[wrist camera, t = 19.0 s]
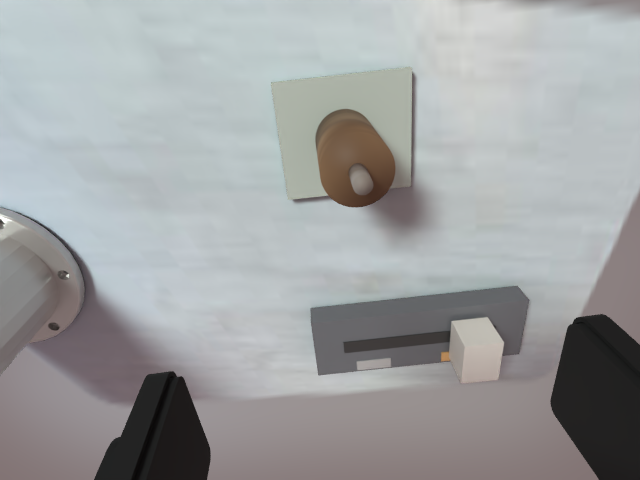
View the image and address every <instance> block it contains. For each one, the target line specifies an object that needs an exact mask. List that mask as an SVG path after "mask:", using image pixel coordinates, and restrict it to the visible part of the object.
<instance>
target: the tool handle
mask: <svg viewBox="0 0 640 480" xmlns="http://www.w3.org/2000/svg"><path fill="white" fill-rule="evenodd" d="M315 143H316V150H317V158H318V165H319V172H320V179H321V183H322V186H323V188H324V190H325V192H326V193H327V194H328V196H329V197H330V198H331V199H333V200H334V201H335V202H337V203H339V204H341V205H344V206H348V207H363V206H367V205H370V204H372V203H374V202H376V201H378V200H379V199H380V198H382V197H383V196H384V195H385V194H386V193H387V191H388V190H389V189H390V187H391V185H392V183H393V180H394V177H395V160H394V157H393V155H392V152H391V151H390V149H389V148H388V146H387V145H386V144H385V142H384V141H383V140H382V138H381V137H380V135H379V134H378V133H377V131H376V130H375V129H374V127H373V126H372V125H371V123H370V122H369V120H368V119H367V118H366V117H365V116H364V115H363V114H361V113H360V112H357V111H355V110H351V109H340V110H336V111H334V112H332V113H330V114H328V115H327V116H326V117H325V118H324V119H323V120H322V121H321V123H320V124H319V126H318V128H317V131H316V136H315Z"/></svg>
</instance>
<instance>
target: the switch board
mask: <svg viewBox="0 0 640 480" xmlns="http://www.w3.org/2000/svg"><path fill="white" fill-rule="evenodd" d="M528 303H529V299H528V298H527V297H526V296H525V294H524V293H523V292H522V291H521V290H520V289H519V287H518V286H512V287H503V288H494V289H484V290H475V291H466V292H457V293H447V294H438V295H429V296H420V297H410V298H401V299H392V300H382V301H373V302H364V303H355V304H345V305H336V306H327V307H318V308H311V326H312V333H313V340H314V347H315V354H316V361H317V368H318V375H326V374H336V373H345V372H354V371H364V370H373V369H383V368H392V367H401V366H411V365H420V364H429V363H439V362H448V361H451V360H450V358H449V347H450V334H451V321H456V320H466V319H475V318H484V317H488V318H489V320H490V321H491V323H492V325H493V326H494V328H495V329H496V331H497V332H498V334H499V335H500V337H501V338H502V340H503V342H504V347H503V353H502V356H504V355H514V354H519V351H520V346H521V340H522V335H523V330H524V324H525V319H526V314H527V308H528Z"/></svg>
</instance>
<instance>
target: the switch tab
mask: <svg viewBox="0 0 640 480" xmlns="http://www.w3.org/2000/svg"><path fill="white" fill-rule="evenodd" d="M503 347H504V342H503V340H502V338H501V337H500V335H499V334H498V332H497V331H496V329H495V328H494V326H493V325H492V323H491V321H490V320H489V318H488V317H484V318H475V319H466V320H456V321H451V334H450V347H449V358H450V360H451V363H452V365H453V367H454V369H455V372H456V374H457V376H458V378H459V380H460V383H461V384H464V383H474V382H483V381H493V380H498V378H499V372H500V365H501V359H502V353H503Z"/></svg>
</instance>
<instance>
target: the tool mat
mask: <svg viewBox="0 0 640 480" xmlns="http://www.w3.org/2000/svg"><path fill="white" fill-rule="evenodd" d="M271 88H272V94H273V101H274V108H275V115H276V121H277V128H278V135H279V142H280V148H281V155H282V162H283V169H284V175H285V182H286V189H287V196H288V200H292V199H301V198H311V197H320V196H328V194H327V193H326V192H325V190H324V188H323V186H322V183H321V179H320V172H319V165H318V158H317V150H316V143H315V136H316V131H317V128H318V126H319V124H320V123H321V121H322V120H323V119H324V118H325V117H326V116H327V115H328V114H330V113H332V112H334V111H336V110H340V109H351V110H355V111H357V112H360V113H361V114H363V115H364V116H365V117H366V118H367V119H368V120H369V122H370V123H371V125H372V126H373V127H374V129H375V130H376V131H377V133H378V134H379V135H380V137H381V138H382V140H383V141H384V142H385V144H386V145H387V146H388V148H389V149H390V151H391V152H392V155H393V157H394V160H395V177H394V180H393V183H392V185H391V187H390V189H392V188H402V187H411V128H412V68H411V67H405V68H396V69H387V70H379V71H370V72H361V73H352V74H343V75H334V76H325V77H316V78H307V79H298V80H289V81H280V82H271Z"/></svg>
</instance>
